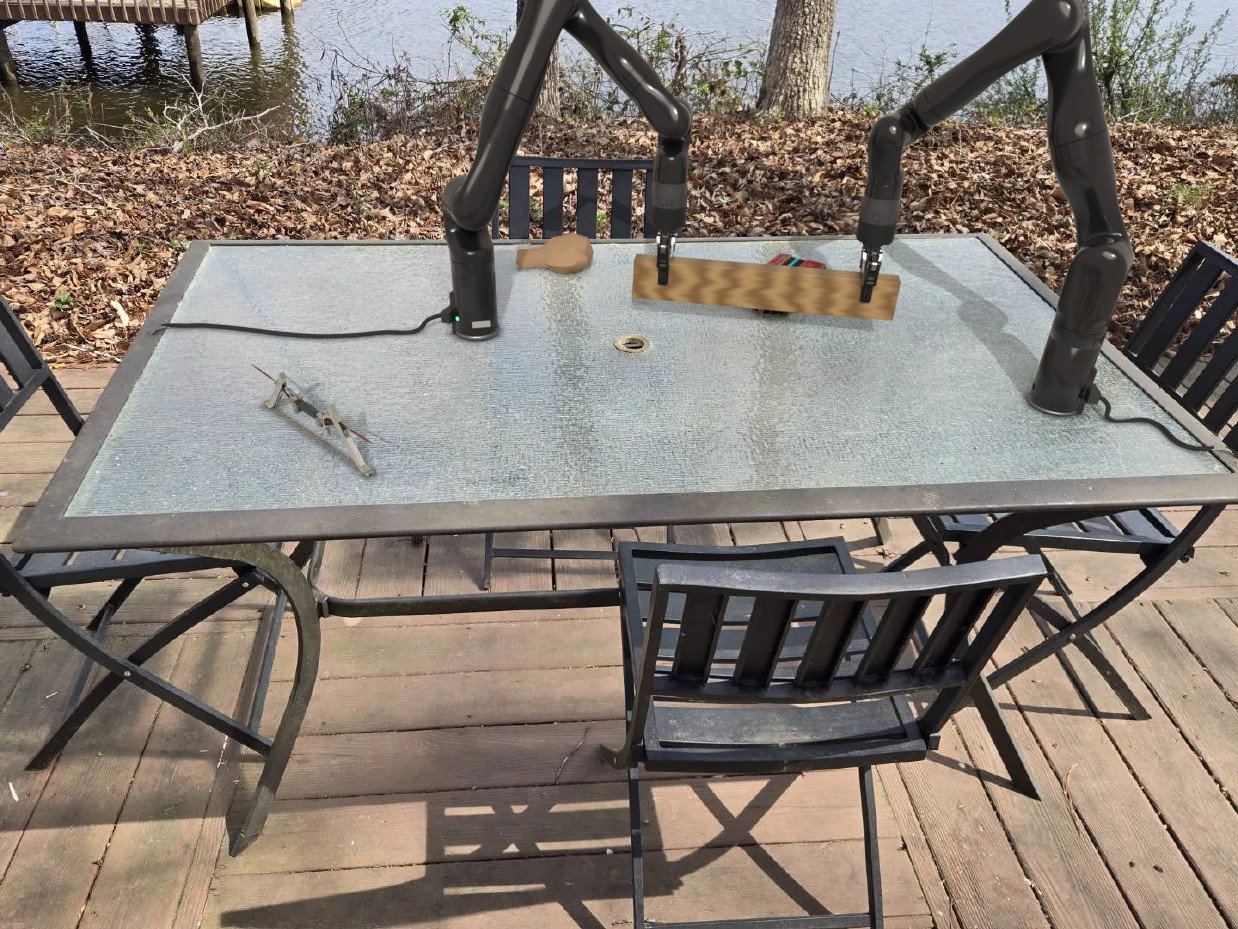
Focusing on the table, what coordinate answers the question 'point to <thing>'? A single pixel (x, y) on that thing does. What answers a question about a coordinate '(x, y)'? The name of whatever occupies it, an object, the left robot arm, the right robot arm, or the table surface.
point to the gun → (787, 261)
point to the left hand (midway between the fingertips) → (664, 279)
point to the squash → (559, 254)
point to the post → (765, 287)
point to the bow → (318, 419)
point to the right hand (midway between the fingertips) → (863, 296)
